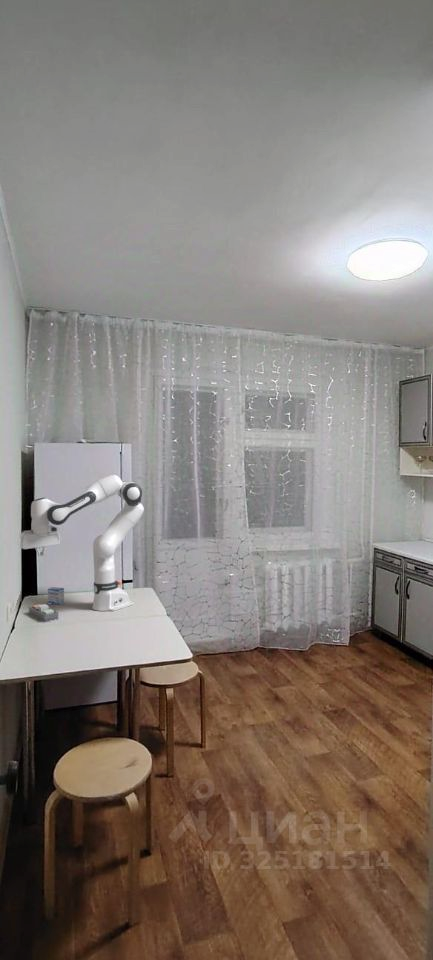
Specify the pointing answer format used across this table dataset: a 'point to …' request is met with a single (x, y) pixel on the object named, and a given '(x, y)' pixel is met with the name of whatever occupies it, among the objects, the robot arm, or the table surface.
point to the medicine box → (56, 595)
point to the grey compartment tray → (43, 616)
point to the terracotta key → (36, 606)
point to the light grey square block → (43, 607)
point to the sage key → (48, 611)
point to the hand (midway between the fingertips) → (41, 555)
